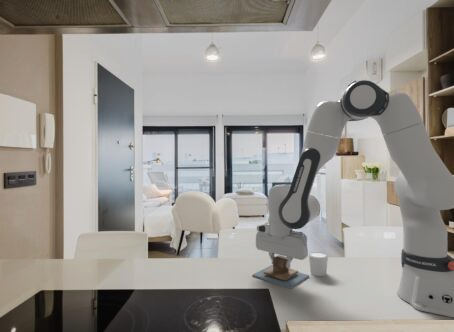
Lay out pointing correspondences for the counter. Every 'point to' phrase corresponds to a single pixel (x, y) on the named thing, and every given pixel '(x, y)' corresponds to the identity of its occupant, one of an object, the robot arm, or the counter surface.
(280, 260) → the brown wooden pedestal
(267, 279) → the mat
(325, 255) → the shot glass
